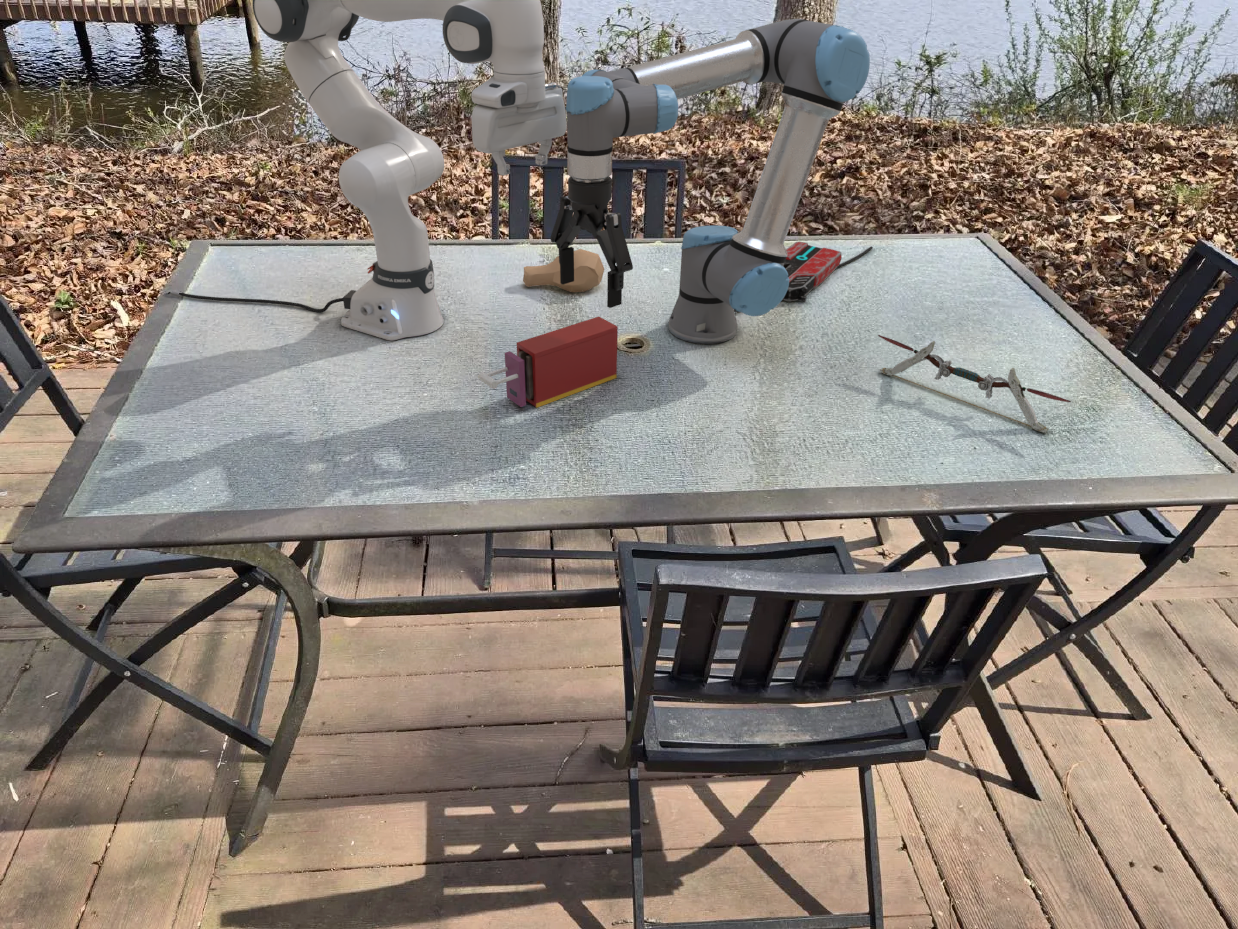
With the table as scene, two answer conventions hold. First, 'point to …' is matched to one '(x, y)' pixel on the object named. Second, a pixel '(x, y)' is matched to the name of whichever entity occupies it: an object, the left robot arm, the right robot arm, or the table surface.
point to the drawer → (514, 377)
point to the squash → (585, 273)
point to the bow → (983, 384)
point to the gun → (808, 268)
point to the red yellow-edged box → (571, 359)
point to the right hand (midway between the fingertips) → (590, 293)
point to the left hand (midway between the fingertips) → (523, 169)
